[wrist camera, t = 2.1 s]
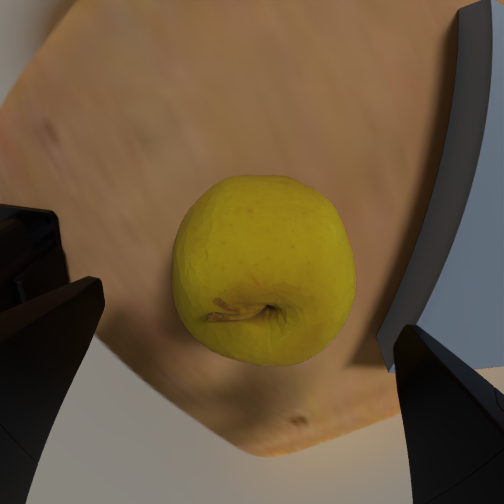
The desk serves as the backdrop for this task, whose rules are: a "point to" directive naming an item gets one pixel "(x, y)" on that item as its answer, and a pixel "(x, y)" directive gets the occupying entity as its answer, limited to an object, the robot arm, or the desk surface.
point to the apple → (263, 270)
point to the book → (463, 212)
